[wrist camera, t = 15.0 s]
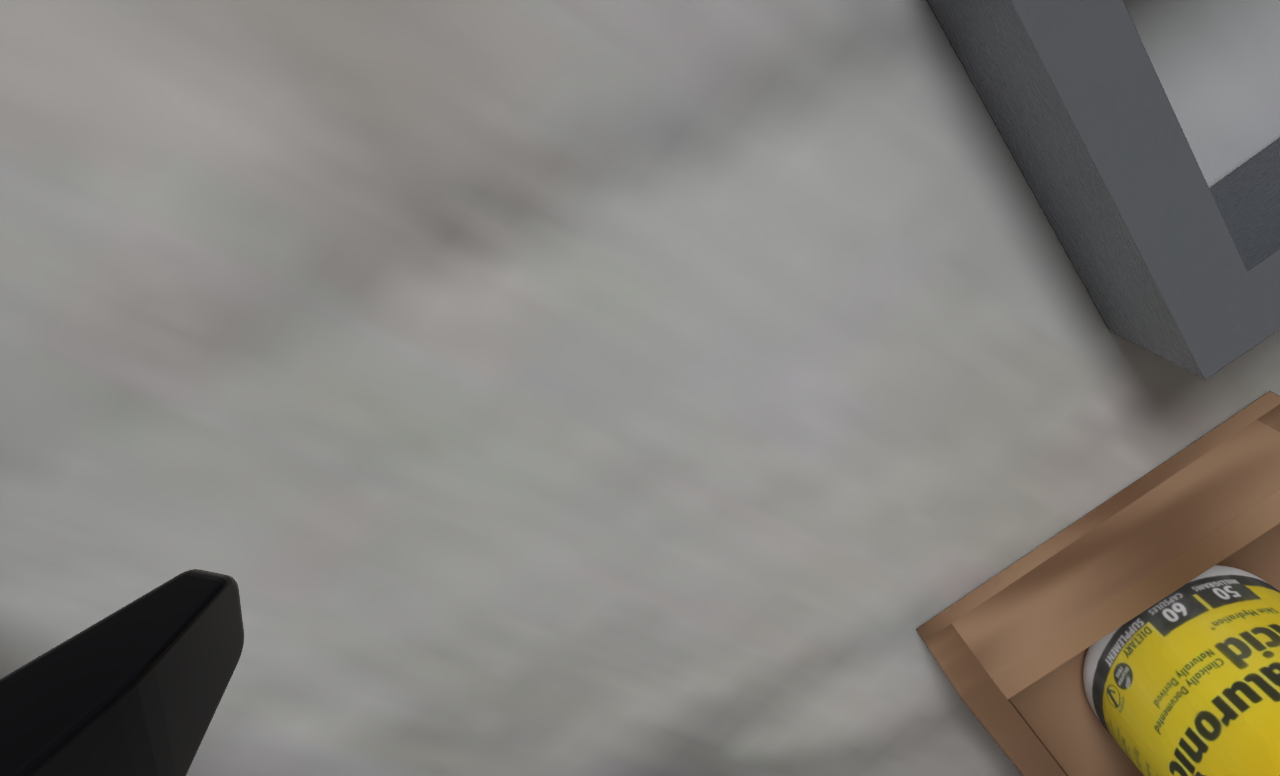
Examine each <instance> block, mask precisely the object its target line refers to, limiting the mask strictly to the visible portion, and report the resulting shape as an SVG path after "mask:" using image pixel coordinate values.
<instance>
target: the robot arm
mask: <svg viewBox="0 0 1280 776" xmlns="http://www.w3.org/2000/svg"><path fill="white" fill-rule="evenodd" d="M243 643H244V629H243V621H242V613H241V605H240V597H239V589H238V585H237V582H236V581H235V580H234V579H233V577H230V576H228V575H223V574H219V573H214V572H209V571H204V570H197V569H194V570H189V571H186V572H183V573H181V574H179V575H178V576H176V577H174V578H173V579H171V580H169V581H167V582H166V583H164V584H162V585H161V586H159V587H157V588H155V589H154V590H152V591H150V592H149V593H147V594H145V595H143V596H142V597H140V598H138V599H137V600H135V601H133V602H132V603H130V604H128V605H126V606H125V607H123V608H121V609H120V610H118V611H116V612H114V613H113V614H111V615H109V616H108V617H106V618H104V619H102V620H101V621H99V622H97V623H96V624H94V625H92V626H90V627H89V628H87V629H85V630H84V631H82V632H80V633H79V634H77V635H75V636H73V637H72V638H70V639H68V640H67V641H65V642H63V643H61V644H60V645H58V646H56V647H55V648H53V649H51V650H49V651H48V652H46V653H44V654H43V655H41V656H39V657H37V658H36V659H34V660H32V661H31V662H29V663H27V664H26V665H24V666H22V667H20V668H19V669H17V670H15V671H14V672H12V673H10V674H8V675H7V676H5V677H3V678H2V679H0V776H186V774H187V772H188V770H189V768H190V765H191V763H192V761H193V759H194V757H195V755H196V752H197V750H198V748H199V746H200V744H201V742H202V739H203V737H204V735H205V733H206V731H207V729H208V726H209V724H210V722H211V720H212V718H213V715H214V713H215V711H216V709H217V707H218V705H219V702H220V700H221V698H222V696H223V694H224V692H225V689H226V687H227V685H228V683H229V681H230V679H231V676H232V674H233V672H234V670H235V668H236V665H237V663H238V661H239V658H240V655H241V652H242V648H243ZM1193 776H1206V775H1193Z"/></svg>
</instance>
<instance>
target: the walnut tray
mask: <svg viewBox="0 0 1280 776" xmlns="http://www.w3.org/2000/svg"><path fill="white" fill-rule="evenodd" d="M1215 565H1220V566H1228V567H1234V568H1237V569H1241V570H1244V571H1246V572H1249V573H1251V574H1253V575H1255V576H1257V577H1259V578H1261V579H1262V580H1264V581H1265V582H1267V583H1268V584H1270V585H1271V586H1273V587H1274V588H1276V589H1277V590H1279V591H1280V396H1279V395H1277V394H1275V393H1273V392H1271V391H1269V392H1268V393H1266V394H1265V395H1263V396H1262V397H1261V398H1259V399H1258V400H1256V401H1255V402H1253V403H1252V404H1250V405H1249V406H1247V407H1246V408H1244V409H1243V410H1241V411H1240V412H1238V413H1237V414H1235V415H1234V416H1232V417H1231V418H1229V419H1228V420H1226V421H1225V422H1223V423H1222V424H1220V425H1219V426H1217V427H1216V428H1214V429H1213V430H1211V431H1210V432H1208V433H1207V434H1205V435H1204V436H1203V437H1201V438H1200V439H1198V440H1197V441H1195V442H1194V443H1192V444H1191V445H1189V446H1188V447H1186V448H1185V449H1183V450H1182V451H1180V452H1179V453H1177V454H1176V455H1174V456H1173V457H1171V458H1170V459H1168V460H1167V461H1165V462H1164V463H1162V464H1161V465H1159V466H1158V467H1156V468H1155V469H1153V470H1152V471H1150V472H1149V473H1147V474H1146V475H1145V476H1143V477H1142V478H1140V479H1139V480H1137V481H1136V482H1134V483H1133V484H1131V485H1130V486H1128V487H1127V488H1125V489H1124V490H1122V491H1121V492H1119V493H1118V494H1116V495H1115V496H1113V497H1112V498H1110V499H1109V500H1107V501H1106V502H1104V503H1103V504H1101V505H1100V506H1098V507H1097V508H1095V509H1094V510H1092V511H1091V512H1090V513H1088V514H1087V515H1085V516H1084V517H1082V518H1081V519H1079V520H1078V521H1076V522H1075V523H1073V524H1072V525H1070V526H1069V527H1067V528H1066V529H1064V530H1063V531H1061V532H1060V533H1058V534H1057V535H1055V536H1054V537H1052V538H1051V539H1049V540H1048V541H1046V542H1045V543H1043V544H1042V545H1040V546H1039V547H1037V548H1036V549H1034V550H1033V551H1032V552H1030V553H1029V554H1027V555H1026V556H1024V557H1023V558H1021V559H1020V560H1018V561H1017V562H1015V563H1014V564H1012V565H1011V566H1009V567H1008V568H1006V569H1005V570H1003V571H1002V572H1000V573H999V574H997V575H996V576H994V577H993V578H991V579H990V580H988V581H987V582H985V583H984V584H982V585H981V586H979V587H978V588H976V589H975V590H974V591H972V592H971V593H969V594H968V595H966V596H965V597H963V598H962V599H960V600H959V601H957V602H956V603H954V604H953V605H951V606H950V607H948V608H947V609H945V610H944V611H942V612H941V613H939V614H938V615H936V616H935V617H933V618H932V619H930V620H929V621H927V622H926V623H924V624H923V625H921V626H920V627H919V628H917V629H916V630H917V631H918V633H919V634H920V636H921V637H922V639H923V641H924V642H925V644H926V645H927V647H928V648H929V650H930V651H931V653H932V654H933V656H934V657H935V659H936V660H937V662H938V663H939V665H940V666H941V668H942V669H943V671H944V672H945V674H946V676H947V677H948V679H949V680H950V682H951V683H952V685H953V686H954V688H955V689H956V691H957V692H958V694H959V695H960V697H961V698H962V700H963V701H964V702H965V703H966V705H967V706H968V707H969V708H970V710H971V711H972V712H973V713H974V715H975V716H976V717H977V718H978V720H979V721H980V722H981V723H982V725H983V726H984V727H985V728H986V730H987V731H988V732H989V733H990V735H991V736H992V737H993V738H994V740H995V741H996V742H997V743H998V744H999V746H1000V747H1001V748H1002V749H1003V751H1004V752H1005V753H1006V754H1007V756H1008V757H1009V758H1010V759H1011V761H1012V762H1013V763H1014V764H1015V766H1016V767H1017V768H1018V769H1019V771H1020V772H1021V773H1022V774H1023V776H1144V775H1143V774H1142V773H1141V771H1140V770H1139V769H1138V768H1137V767H1136V765H1135V764H1134V763H1133V762H1132V760H1131V759H1130V758H1129V757H1128V756H1127V754H1126V753H1125V752H1124V751H1123V749H1122V748H1121V747H1120V746H1119V745H1118V743H1117V742H1116V741H1115V739H1114V738H1113V737H1112V736H1111V735H1110V734H1109V732H1108V731H1107V730H1106V729H1105V727H1104V726H1103V725H1102V723H1101V722H1100V720H1099V719H1098V717H1097V716H1096V714H1095V713H1094V711H1093V710H1092V708H1091V706H1090V704H1089V701H1088V699H1087V696H1086V693H1085V688H1084V683H1083V667H1084V661H1085V656H1086V653H1087V650H1088V648H1089V647H1090V646H1091V645H1093V644H1094V643H1096V642H1097V641H1099V640H1100V639H1102V638H1103V637H1105V636H1107V635H1108V634H1110V633H1111V632H1113V631H1114V630H1116V629H1117V628H1119V627H1120V626H1122V625H1124V624H1125V623H1127V622H1128V621H1130V620H1131V619H1133V618H1134V617H1136V616H1137V615H1139V614H1140V613H1142V612H1144V611H1145V610H1147V609H1148V608H1150V607H1151V606H1153V605H1154V604H1156V603H1157V602H1159V601H1161V600H1162V599H1164V598H1165V597H1167V596H1168V595H1170V594H1171V593H1173V592H1174V591H1176V590H1178V589H1179V588H1181V587H1182V586H1184V585H1185V584H1187V583H1188V582H1190V581H1191V580H1193V579H1194V578H1196V577H1198V576H1199V575H1201V574H1202V573H1204V572H1205V571H1207V570H1208V569H1210V568H1211V567H1213V566H1215Z"/></svg>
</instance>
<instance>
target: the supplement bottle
mask: <svg viewBox="0 0 1280 776" xmlns="http://www.w3.org/2000/svg"><path fill="white" fill-rule="evenodd" d="M1083 683H1084V688H1085V693H1086V696H1087V699H1088V701H1089V704H1090V706H1091V708H1092V710H1093V711H1094V713H1095V714H1096V716H1097V717H1098V719H1099V720H1100V722H1101V723H1102V725H1103V726H1104V727H1105V729H1106V730H1107V731H1108V732H1109V734H1110V735H1111V736H1112V737H1113V738H1114V739H1115V741H1116V742H1117V743H1118V745H1119V746H1120V747H1121V748H1122V749H1123V751H1124V752H1125V753H1126V754H1127V756H1128V757H1129V758H1130V759H1131V760H1132V762H1133V763H1134V764H1135V765H1136V767H1137V768H1138V769H1139V770H1140V771H1141V773H1142V774H1143V775H1144V776H1193V775H1206V776H1280V591H1279V590H1277V589H1276V588H1274V587H1273V586H1271V585H1270V584H1268V583H1267V582H1265V581H1264V580H1262V579H1261V578H1259V577H1257V576H1255V575H1253V574H1251V573H1249V572H1246V571H1244V570H1241V569H1237V568H1234V567H1228V566H1220V565H1215V566H1213V567H1211V568H1210V569H1208V570H1207V571H1205V572H1204V573H1202V574H1201V575H1199V576H1198V577H1196V578H1194V579H1193V580H1191V581H1190V582H1188V583H1187V584H1185V585H1184V586H1182V587H1181V588H1179V589H1178V590H1176V591H1174V592H1173V593H1171V594H1170V595H1168V596H1167V597H1165V598H1164V599H1162V600H1161V601H1159V602H1157V603H1156V604H1154V605H1153V606H1151V607H1150V608H1148V609H1147V610H1145V611H1144V612H1142V613H1140V614H1139V615H1137V616H1136V617H1134V618H1133V619H1131V620H1130V621H1128V622H1127V623H1125V624H1124V625H1122V626H1120V627H1119V628H1117V629H1116V630H1114V631H1113V632H1111V633H1110V634H1108V635H1107V636H1105V637H1103V638H1102V639H1100V640H1099V641H1097V642H1096V643H1094V644H1093V645H1091V646H1090V647H1089V648H1088V650H1087V653H1086V656H1085V661H1084V667H1083Z"/></svg>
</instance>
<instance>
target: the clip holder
mask: <svg viewBox="0 0 1280 776" xmlns="http://www.w3.org/2000/svg"><path fill="white" fill-rule="evenodd" d="M927 1H928V2H929V4H930V6H931V8H932V10H933V11H934V13H935V15H936V17H937V19H938V20H939V22H940V24H941V26H942V28H943V30H944V31H945V33H946V35H947V37H948V39H949V40H950V42H951V44H952V46H953V48H954V49H955V51H956V53H957V55H958V57H959V59H960V60H961V62H962V64H963V66H964V68H965V69H966V71H967V73H968V75H969V77H970V78H971V80H972V82H973V84H974V86H975V88H976V89H977V91H978V93H979V95H980V97H981V98H982V100H983V102H984V104H985V106H986V107H987V109H988V111H989V113H990V115H991V117H992V118H993V120H994V122H995V124H996V126H997V127H998V129H999V131H1000V133H1001V135H1002V136H1003V138H1004V140H1005V142H1006V144H1007V146H1008V147H1009V149H1010V151H1011V153H1012V155H1013V156H1014V158H1015V160H1016V162H1017V164H1018V165H1019V167H1020V169H1021V171H1022V173H1023V175H1024V176H1025V178H1026V180H1027V182H1028V184H1029V185H1030V187H1031V189H1032V191H1033V193H1034V194H1035V196H1036V198H1037V200H1038V202H1039V204H1040V205H1041V207H1042V209H1043V211H1044V213H1045V214H1046V216H1047V218H1048V220H1049V222H1050V223H1051V225H1052V227H1053V229H1054V231H1055V233H1056V234H1057V236H1058V238H1059V240H1060V242H1061V243H1062V245H1063V247H1064V249H1065V251H1066V252H1067V254H1068V256H1069V258H1070V260H1071V262H1072V263H1073V265H1074V267H1075V269H1076V271H1077V272H1078V274H1079V276H1080V278H1081V280H1082V281H1083V283H1084V285H1085V287H1086V289H1087V291H1088V292H1089V294H1090V296H1091V298H1092V300H1093V301H1094V303H1095V305H1096V307H1097V309H1098V310H1099V312H1100V314H1101V316H1102V318H1103V320H1104V321H1105V323H1106V325H1107V327H1108V329H1109V330H1110V331H1111V332H1113V333H1115V334H1117V335H1119V336H1121V337H1123V338H1125V339H1127V340H1129V341H1131V342H1133V343H1135V344H1137V345H1139V346H1141V347H1143V348H1145V349H1146V350H1148V351H1150V352H1152V353H1154V354H1156V355H1158V356H1160V357H1162V358H1164V359H1166V360H1168V361H1170V362H1172V363H1174V364H1176V365H1178V366H1180V367H1182V368H1184V369H1185V370H1187V371H1189V372H1191V373H1193V374H1195V375H1197V376H1199V377H1201V378H1203V379H1205V380H1206V379H1207V378H1208V377H1210V376H1211V375H1213V374H1214V373H1216V372H1217V371H1219V370H1220V369H1222V368H1223V367H1225V366H1226V365H1228V364H1229V363H1230V362H1232V361H1233V360H1235V359H1236V358H1238V357H1239V356H1241V355H1242V354H1244V353H1245V352H1247V351H1248V350H1250V349H1251V348H1252V347H1254V346H1255V345H1257V344H1258V343H1260V342H1261V341H1263V340H1264V339H1266V338H1267V337H1269V336H1270V335H1272V334H1273V333H1274V332H1276V331H1277V330H1279V329H1280V138H1279V139H1277V140H1276V141H1275V142H1273V143H1272V144H1270V145H1269V146H1268V147H1266V148H1265V149H1263V150H1262V151H1261V152H1259V153H1258V154H1256V155H1255V156H1254V157H1252V158H1251V159H1249V160H1248V161H1247V162H1245V163H1244V164H1242V165H1241V166H1240V167H1238V168H1237V169H1235V170H1234V171H1233V172H1231V173H1230V174H1228V175H1227V176H1226V177H1224V178H1223V179H1221V180H1220V181H1219V182H1217V183H1216V184H1214V185H1213V186H1212V187H1210V188H1209V187H1208V185H1207V183H1206V181H1205V179H1204V176H1203V174H1202V172H1201V170H1200V168H1199V166H1198V163H1197V161H1196V159H1195V157H1194V155H1193V152H1192V150H1191V148H1190V146H1189V144H1188V142H1187V139H1186V137H1185V135H1184V133H1183V131H1182V128H1181V126H1180V124H1179V122H1178V120H1177V118H1176V115H1175V113H1174V111H1173V109H1172V107H1171V104H1170V102H1169V100H1168V98H1167V96H1166V94H1165V91H1164V89H1163V87H1162V85H1161V83H1160V80H1159V78H1158V76H1157V74H1156V72H1155V70H1154V67H1153V65H1152V63H1151V61H1150V59H1149V56H1148V54H1147V52H1146V50H1145V48H1144V46H1143V43H1142V41H1141V39H1140V37H1139V35H1138V33H1137V30H1136V28H1135V26H1134V24H1133V22H1132V19H1131V17H1130V15H1129V13H1128V11H1127V9H1126V6H1125V4H1124V2H1123V0H927Z"/></svg>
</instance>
